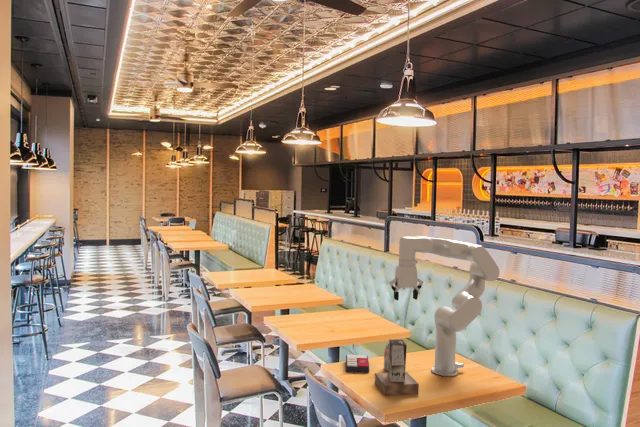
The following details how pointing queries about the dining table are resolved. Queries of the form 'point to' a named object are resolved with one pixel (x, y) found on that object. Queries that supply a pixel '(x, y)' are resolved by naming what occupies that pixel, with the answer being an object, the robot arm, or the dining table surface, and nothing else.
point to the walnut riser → (396, 385)
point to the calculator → (357, 363)
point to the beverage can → (386, 357)
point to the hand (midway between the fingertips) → (405, 299)
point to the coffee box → (397, 360)
